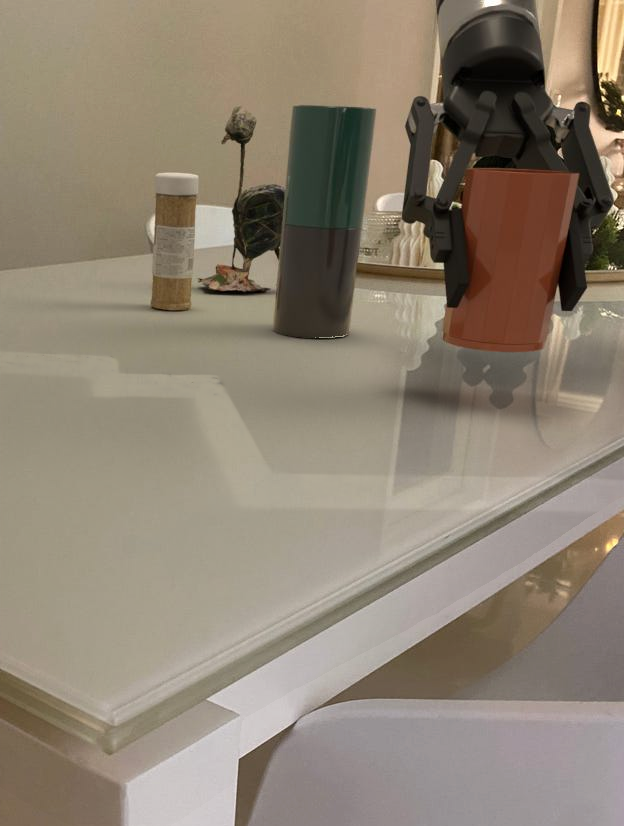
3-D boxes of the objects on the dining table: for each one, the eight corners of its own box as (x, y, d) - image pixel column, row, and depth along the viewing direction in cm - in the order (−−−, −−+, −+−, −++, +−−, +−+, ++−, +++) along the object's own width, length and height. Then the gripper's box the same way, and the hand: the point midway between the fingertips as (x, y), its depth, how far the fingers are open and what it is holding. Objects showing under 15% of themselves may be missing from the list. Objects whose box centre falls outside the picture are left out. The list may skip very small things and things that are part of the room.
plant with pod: (292, 297, 124) (310, 108, 114) (197, 293, 123) (208, 104, 114) (284, 287, 131) (301, 108, 122) (194, 284, 131) (204, 104, 122)
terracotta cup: (521, 334, 83) (551, 169, 78) (561, 353, 77) (598, 174, 71) (428, 332, 83) (452, 166, 77) (460, 351, 76) (489, 171, 71)
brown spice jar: (162, 302, 117) (168, 171, 111) (199, 307, 115) (206, 174, 109) (142, 308, 113) (147, 172, 107) (179, 313, 111) (186, 175, 105)
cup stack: (339, 325, 108) (364, 108, 99) (357, 339, 101) (386, 108, 92) (266, 323, 107) (285, 105, 98) (280, 338, 101) (301, 104, 91)
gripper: (599, 96, 86) (634, 333, 79) (350, 88, 86) (362, 325, 78) (642, 15, 79) (684, 268, 71) (370, 6, 78) (385, 259, 71)
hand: (516, 297), depth 75 cm, fingers closed on terracotta cup, 8 cm apart
